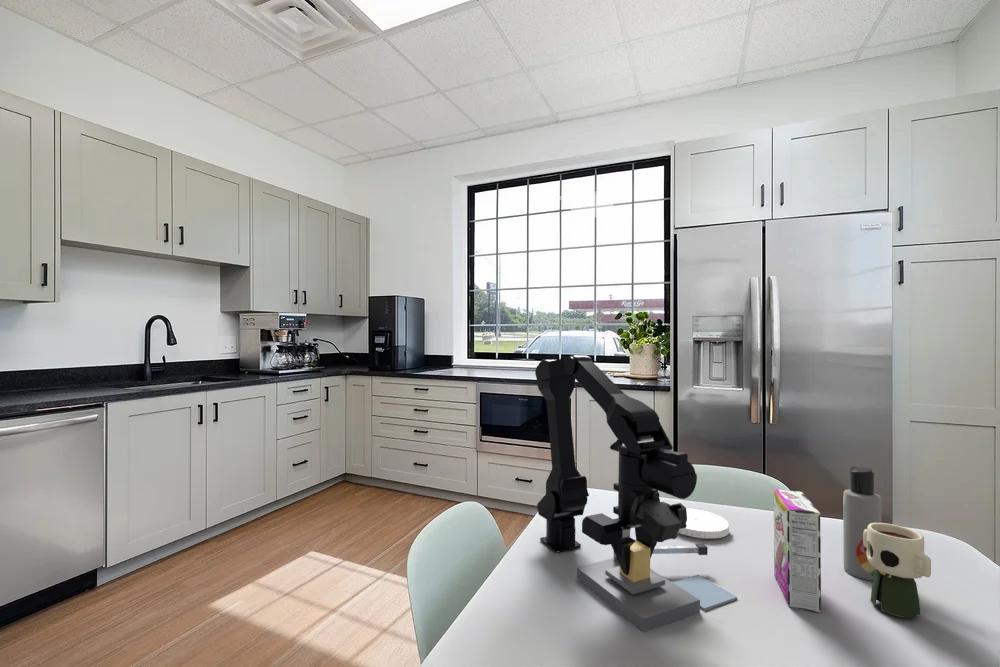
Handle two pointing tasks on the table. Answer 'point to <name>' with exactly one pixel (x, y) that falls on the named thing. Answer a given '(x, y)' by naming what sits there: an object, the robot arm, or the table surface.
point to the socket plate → (639, 597)
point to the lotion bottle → (859, 521)
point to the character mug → (896, 567)
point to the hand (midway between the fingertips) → (634, 571)
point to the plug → (637, 571)
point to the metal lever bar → (679, 549)
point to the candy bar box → (797, 550)
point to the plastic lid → (704, 525)
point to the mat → (705, 592)
